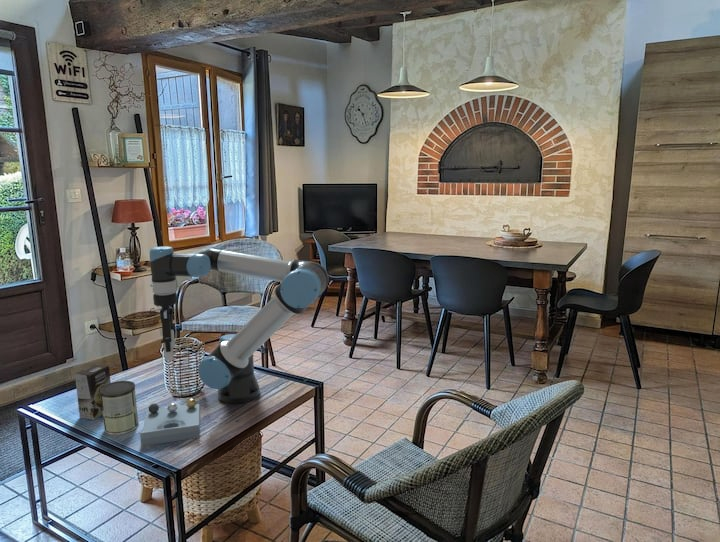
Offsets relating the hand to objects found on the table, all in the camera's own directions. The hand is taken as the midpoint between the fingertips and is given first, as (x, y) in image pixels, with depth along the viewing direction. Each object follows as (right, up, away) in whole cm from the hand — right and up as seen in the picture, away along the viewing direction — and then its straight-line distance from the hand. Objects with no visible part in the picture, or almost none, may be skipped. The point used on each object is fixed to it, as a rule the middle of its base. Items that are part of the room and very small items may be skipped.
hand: (170, 353), depth 176 cm
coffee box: (-25, -21, 0) cm, 33 cm away
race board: (+4, -22, -9) cm, 25 cm away
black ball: (-4, -17, -5) cm, 19 cm away
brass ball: (+8, -17, -2) cm, 19 cm away
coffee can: (-12, -23, -9) cm, 28 cm away
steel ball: (+3, -17, -5) cm, 18 cm away
